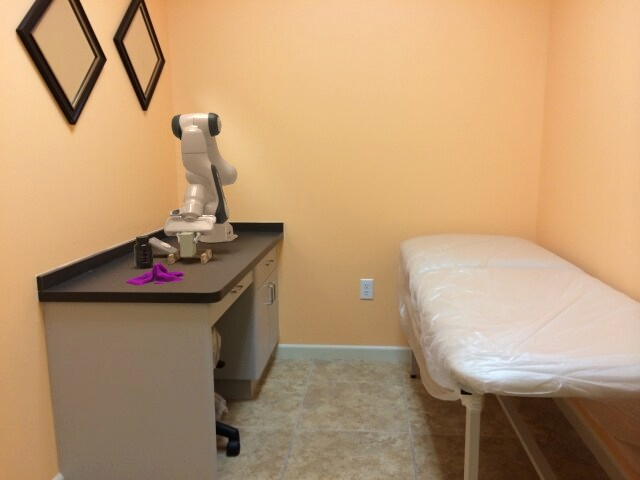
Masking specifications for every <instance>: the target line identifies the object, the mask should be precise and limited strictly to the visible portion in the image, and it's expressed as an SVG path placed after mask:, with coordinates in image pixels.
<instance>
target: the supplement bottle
mask: <svg viewBox="0 0 640 480" xmlns="http://www.w3.org/2000/svg"><path fill="white" fill-rule="evenodd" d="M149 239H150V236H149V235H138V236H136V237H135V242H136V243H135V244H134V245H133V252H134V253H133V254H134V264H135V268H136V269H149V268H153V266H154V265H155V263H154V250H153V246H152V244H151V243H149Z"/></svg>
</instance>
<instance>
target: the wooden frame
mask: <svg viewBox="0 0 640 480" xmlns="http://www.w3.org/2000/svg"><path fill="white" fill-rule="evenodd" d="M212 256H213V255H212V249H211V248H203V249H202V248H201V249H200V248H199V249H197V248H196V254H194V255H193V256H192V257H181V252H180V249H178V250H176V251H175V252H173V253H172V254H170V255H169V254H168V255H167V265H168V266H169V265H173V264H174V263H175V262H176V261H178V260H180V259H200V264H201V265H205V264H206V263H207V262H208V261H210V260H211V258H213V257H212Z"/></svg>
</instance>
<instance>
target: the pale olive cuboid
mask: <svg viewBox="0 0 640 480" xmlns="http://www.w3.org/2000/svg"><path fill="white" fill-rule="evenodd" d="M179 237H180V244H179V250H180V252H181V257H192V256H193V255H194V254H196V249H197V246H196V245H197V244H193V238H196V236H195V232H183V233H181V234H180V235H179Z"/></svg>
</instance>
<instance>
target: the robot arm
mask: <svg viewBox="0 0 640 480" xmlns="http://www.w3.org/2000/svg"><path fill="white" fill-rule="evenodd" d="M170 126H171V127H170V128H171V131H172V134H173V135H174V137H176V139H179V141H180V151H181V152H180V153H181V161H182V165H183V167H184V168H185V179H186V181H187V182H188V185H187V187H186V189H185V193H184V197H183V205H182V207H180V208H177V209H174V210H170V211H169V216H168V218H167V219H166V221H165V224H164V227H163V232H164V234H165V235H166V236H167V237H177V244H179V245H180V237H179V235H180V234H181V233H183V232H195V238H193V244H196V245H197V244H198V241H199V242H202V243H225V242H233V241H234V240H235V239H236V238H238V235H237V234H234V229H233V226H232V225H231V224H230V223H229V221H228V219H230V209H229V206H228V204H227V200H226V197H225V192H224V189H223V186H224V187H225V186H229V185H230V186H231V185H234V184H235V183H236V181H237V179H238V171H237V168H236V167H235V166H234V165H233V164H231V163H229V162H228V161H227V160H226V159H225V158H223V155H221V153H220V151H219V147H218V143H217V142H218V141H217V139H216V138H217V137H216V136H218V135H219V134H220V133H221V131H222V126H223V125H222V120H221V118H220V116H219V115H218V113H215V112H193V113H191V112H190V113H185V114H176V115H174V116H173V117H172V119H171V125H170Z"/></svg>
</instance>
